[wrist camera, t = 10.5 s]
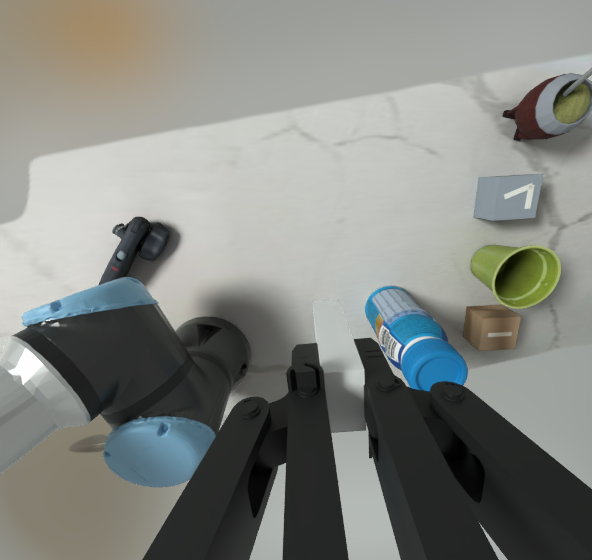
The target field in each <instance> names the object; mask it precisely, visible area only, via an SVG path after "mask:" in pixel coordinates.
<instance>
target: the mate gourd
mask: <svg viewBox="0 0 592 560" xmlns="http://www.w3.org/2000/svg"><path fill="white" fill-rule="evenodd" d="M591 75H592V68H591V69H590V70H589V71H587V72H586V73H585V74H584V75H579V74H573V73H569V74H563V75H560V76H556V77H553V78H550V79H547V80H545V81H544V82H542V83H541V84H539V85H538V86H536V87H535V88H534V89H532V90H531V91H530V92H529V93H528V94H527V95H526V96H525V97H524V98H523V100H522V101H521V102H520V103H519V105H518V106H517V107H515V108H514V109H512V110H506V111H504V113H503V117H507V118H513V119H515V123H516V125H517V129H516V132H515V135H514V140H520V139H521V138H523V139H527V140H533V139H548V138H551V137H555V136H559V135H562V134H564V133H566V132H569V131H571V130H572V129H573V128H575V127H576V126H578V125H579V124H580V123H582V122H583V120H584V119H585V118H586V117H587V115H588V114H589V113H590V112H591V110H592V82H591V81H590V80H588V79H587V78H588V77H589V76H591Z"/></svg>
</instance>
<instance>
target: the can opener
mask: <svg viewBox="0 0 592 560" xmlns="http://www.w3.org/2000/svg"><path fill="white" fill-rule="evenodd" d="M149 229H150V223H149V222H148V220H147V219H145V218H143V217H135V218H133V219H132V221H130V222H129V223H127V224H126V225H125V226H124V224H119V225H116V226H115V227H114V228H113V230H112V232H113V233H114V234H115V235H117V236H119V237H120V238H121V239H122V240H121V242H120V243H119V245H118V247H117V249H116V250H115V252H114V254H113V256H112V258H111V260H110V262H109V264H108V266H107V268H106V270H105V272H104V274H103V276H102V278H101V280H100V283H99V285H101V284H104V283H107V282H110V281H113V280H116V279H120V278H123V277H126V276H127V274H128V271H129V269H130V267H131V265H132V263H133V261H134V259H135V257H136V255H137V253H138V251H139V252H140V255H139V256H140V257H141V258H143V259H146V260H150V261H154V260H155V259H156V258H157V257H158V256H159V255H160V254H161V253H162V251H163V250H164V248H165V246H166V244H167V241H168V238H169V233H170V231H169V230H168V229H167V228H166V227H164V226H163V225H162V224H160V223H159V222H158V223H157V224H156V225H155V226H154V227H153V229H152V230H151V231H149Z"/></svg>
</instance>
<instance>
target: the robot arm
mask: <svg viewBox="0 0 592 560" xmlns="http://www.w3.org/2000/svg"><path fill="white" fill-rule="evenodd" d="M313 312H314V324H315V336H316V343H312V344H300V345H296V346H295V348H294V349H293V351H292V366H291V367H290V368H289V369H288V370H287V373H286V374H287V382H288V390H289V392H288V394H287V395H286V396H285V397H283V398H282V399H280V400H278V401H275V402H272V403H269V404H268V402H267V401H266V400H265V399H263V398H260V397H249V398H246V399H243V400H241V401H240V402H238V403H237V404H236V405H235V406H234V407H233V409H232V410H231V412H230V414H229V415H228V417H227V419H226V420H225V422H224V424H223V425H222V427H221V429H220V430H219V428H220V425H221V421H222V418H223V414H224V411H225V408H226V404H227V401H228V398H229V394H230V393H231V391H232V390H233V389H234V388H235V387H236V386H237V385H238V384H239V383H240V382H241V380H242V379H243V378H244V376H245V374H246V372H247V370H248V366H249V362H250V347H249V344H248V342H247V340H246V338H245V336H244V335H243V334H242V332H241V331H240V330H239V329H238V328H236V327H235V326H234V325H232V324H231V323H229V322H227V321H225V320H222V319H219V318H214V317H199V318H195V319H192V320H189V321H187V322H185V323H184V324H182V325H181V326H180V327H179V328H178V329H177V330H176V332H175V331H174V329H173V327H172V326H171V324H170V323H169V321H168V320H167V318H166V317H165V315H164V313H163V312H162V310H161V309H160V307H159V306H158V302H157V301H156V300H154V299H153V298H152V296H151V295H150V293H149V292H148V291H147V289H146V288H145V286H144V285H143V284H142V283H141V282H140V281H139V280H138V279H135V278H132V277H123V278H120V279H116V280H113V281H110V282H107V283H104V284H101V285H98V286H95V287H92V288H90V289H87V290H84V291H81V292H78V293H76V294H73V295H70V296H67V297H65V298H62V299H60V300H57V301H54V302H52V303H49V304H46V305H43V306H40V307H38V308H35V309H32V310H30V311H28V312H26V313H24V314H23V315H22V320H23V322H22V324H23V325H24V326H26V327H27V328H26V329H24V330H22V331H20V332H18V333H17V334H15V335H13V336H10V337H9V338H7V339H6V341H5V343H4V346H3V349H2V351H1V354H0V474H2V473H3V472H4V471H5V470H6V469H8V468H9V467H10V466H12V465H13V464H14V463H15V462H17V461H18V460H19V459H20V458H22V457H23V456H24V455H25V454H27V453H28V452H29V451H30V450H32V449H33V448H34V447H35V446H37V445H38V444H39V443H41V442H42V441H43V440H44V439H46V438H47V437H48V436H50V435H51V434H52V433H53V432H55V431H56V430H57V429H60V428H63V427H70V426H82V425H87V424H88V423H89V422H91V421H92V420H93V419H94V418H95V417H97V416H98V415H99V414H101V415H102V416H103V418H104V419H105V420H106V422H107V423H108V424H109V425H110V426H111V428H112V429H113V430H112V432H111V433H110V434H109V435H108V437H107V438H106V443H105V445H104V450H105V451H104V454H103V455H104V460H105V462H106V464H107V465H108V467H109V468H110V469H111V470H112V471H113V472H114V473H115V474H116V475H118V476H119V477H121V478H123V479H124V480H126V481H129V482H131V483H134V484H137V485H142V486H149V487H169V486H175V485H179V484H181V483H184V482H186V481H188V480H190V481H189V482H188V484H187V486H186V487H185V489H184V491H183V492H182V494H181V496H180V497H179V499H178V501H177V502H176V504H175V506H174V507H173V509H172V511H171V512H170V514H169V516H168V518H167V519H166V521H165V523H164V524H163V526H162V528H161V530H160V531H159V533H158V534H157V536H156V538H155V539H154V541H153V543H152V544H151V546H150V548H149V550H148V551H147V553H146V555H145V556H144V558H143V559H142V560H249V558H250V555H251V552H252V549H253V546H254V543H255V540H256V536H257V533H258V530H259V527H260V524H261V521H262V518H263V514H264V511H265V508H266V505H267V502H268V499H269V495H270V492H271V489H272V486H273V483H274V480H275V477H276V474H277V470H278V466H279V465H282V464H284V463H286V483H285V509H284V510H285V511H284V537H283V560H349V559H348V552H347V544H346V537H345V530H344V524H343V516H342V508H341V501H340V494H339V487H338V480H337V472H336V465H335V458H334V451H333V444H332V437H331V433H334V432H348V431H361V430H362V431H363V430H366V423H367V427H368V430H369V458H372V455H373V459H374V463H375V466H376V470H377V474H378V477H379V481H380V485H381V488H382V492H383V496H384V499H385V503H386V507H387V510H388V514H389V517H390V521H391V525H392V528H393V532H394V536H395V540H396V543H397V547H398V550H399V554H400V558H401V560H499V559H498V558H497V556H496V554H495V552H494V550H493V548H492V546H491V545H490V543H489V541H488V539H487V537H486V535H485V533H484V531H483V529H482V528H481V526H480V524H481V525H482V527H483V528H484V529H485V530H486V532H487V533H488V534H489V536H490V537H491V538H492V540H493V541H494V542H495V543H496V545H497V546H498V547H499V549H500V550H501V551H502V553H503V554H504V555H505V557H506V558H507V559H508V560H592V489H591V488H590V487H588V486H587V485H586V484H584V483H583V482H582V481H581V480H580V479H579V478H577V477H576V476H575V475H574V474H572V473H571V472H570V471H569V470H567V469H566V468H565V467H564V466H562V465H561V464H560V463H559V462H558V461H556V460H555V459H554V458H553V457H551V456H550V455H549V454H548V453H547V452H545V451H544V450H543V449H541V448H540V447H539V446H538V445H537V444H535V443H534V442H533V441H532V440H531V439H529V438H528V437H527V436H526V435H524V434H523V433H522V432H521V431H519V430H518V429H517V428H516V427H515V426H513V425H512V424H511V423H510V422H508V421H507V420H506V419H505V418H503V417H502V416H501V415H500V414H499V413H497V412H496V411H495V410H494V409H492V408H491V407H490V406H489V405H487V404H486V403H485V402H484V401H482V400H481V399H480V398H479V397H478V396H476V395H475V394H474V393H473V392H471V391H470V390H469V389H467V388H466V387H464V386H463V385H460V384H457V383H455V382H449V381H441V382H437V383H435V384H433V385H432V386H431V388H430V391H424V390H417V389H413V388H409V387H407V386H406V385H405V383H404V382H403V381H402V380H401V379H400V378H398V377H397V376H395V375H394V374H393V372H392V370H391V368H390V366H389V364H388V362H387V360H386V358H385V357H384V354H383V352H382V351H381V348H380V346H379V344H378V343H377V342H376V341H374V340H373V339H371V338H363V339H353V337H352V334H351V331H350V329H349V326H348V323H347V320H346V317H345V315H344V312H343V309H342V306H341V304H340V301H339V299H333V300H322V301H313ZM218 431H219V432H218ZM478 521H479V522H478ZM479 523H480V524H479Z"/></svg>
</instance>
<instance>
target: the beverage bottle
mask: <svg viewBox="0 0 592 560" xmlns="http://www.w3.org/2000/svg"><path fill="white" fill-rule="evenodd" d="M365 313H366V316H367V318H368V320H369V322H370V324H371V326H372V328H373V330H374V332H375V333H376V335H377V337H378V339H379V343H380V346H381V348H382V349H383V351H384V352H385V353H386V355H387V357H388V359H389V360H390V362H391V363H392V364H393V365H394V366H395V367H397V368H398V369H400V370H401V371H402V373H403V375H404V377H405V379H406V380H407V382H408V384H409V386H410V387H411V388H413V389H417V390H424V391H430V388H431V386H432V385H433V384H435V383H437V382H441V381H449V382H455V383H457V384H460V385H464V383H465V381H466V379H467V374H468V369H467V365H466V363H465V361H464V359H463V357H462V356H461V355H460V354H459V353H458V352H457V351H456V350H455V349H454V348H453V347H452V346H451V345H450V344H449V343H448V339H447V336H446V334H445V331H444V330H443V328H442V327H441V326H440V325H439V324H438V323H437V322H436V321H435V319H434V318H433V317H432V316H431V315H430V314H429V313H428V312H427V311H425V310H424V309H423V308H422V307H421V306H420V305H419V304H418V303H416V302H415V301H414V300H413V299H412V298H411V297H410V296H409V294H408V293H407V292H406V291H404V290H403V289H402V288H399V287H397V286H383V287H380V288H378V289H376V290H375V291H374V292H372V293H371V294H370V296H369V297H368V299H367V301H366V304H365Z"/></svg>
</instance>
